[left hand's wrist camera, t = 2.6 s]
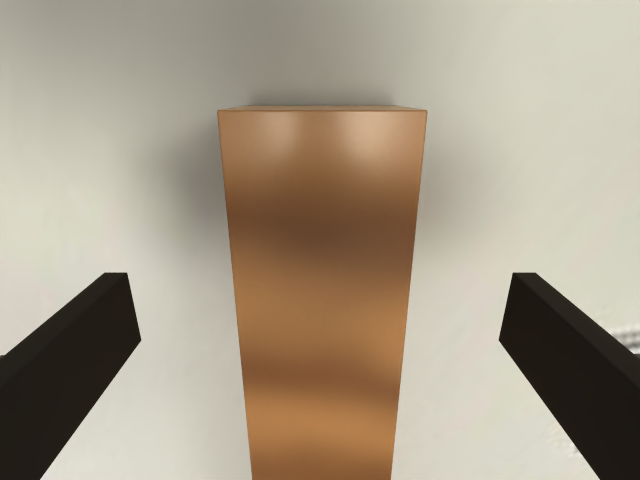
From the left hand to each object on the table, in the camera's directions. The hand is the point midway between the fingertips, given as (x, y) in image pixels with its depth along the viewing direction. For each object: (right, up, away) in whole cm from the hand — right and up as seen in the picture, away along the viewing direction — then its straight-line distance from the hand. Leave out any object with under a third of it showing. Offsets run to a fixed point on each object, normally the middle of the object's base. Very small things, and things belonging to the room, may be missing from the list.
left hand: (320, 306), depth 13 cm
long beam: (0, -20, +21) cm, 29 cm away
